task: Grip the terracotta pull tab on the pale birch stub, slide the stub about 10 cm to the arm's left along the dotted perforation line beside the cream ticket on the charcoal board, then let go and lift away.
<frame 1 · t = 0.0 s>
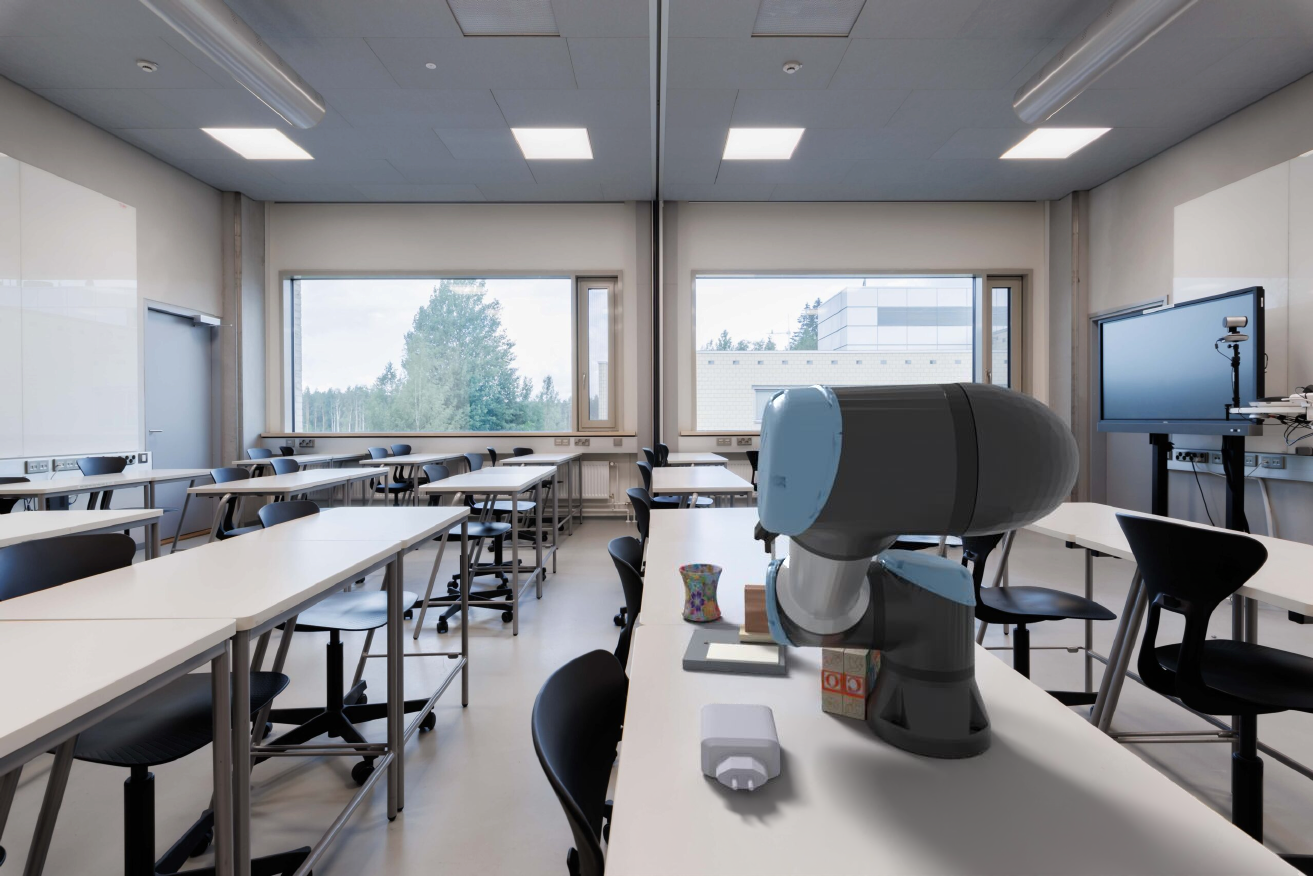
hand: (811, 563, 112), 15 cm above the table, tool tilted 35°, fingers open, 13 cm apart
charger: (740, 773, 73), on the table
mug: (700, 616, 132), on the table
stub: (758, 611, 113), point 6 cm above the table, slide at 0.0 cm
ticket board: (736, 653, 109), on the table
stack of blocks: (860, 689, 95), on the table
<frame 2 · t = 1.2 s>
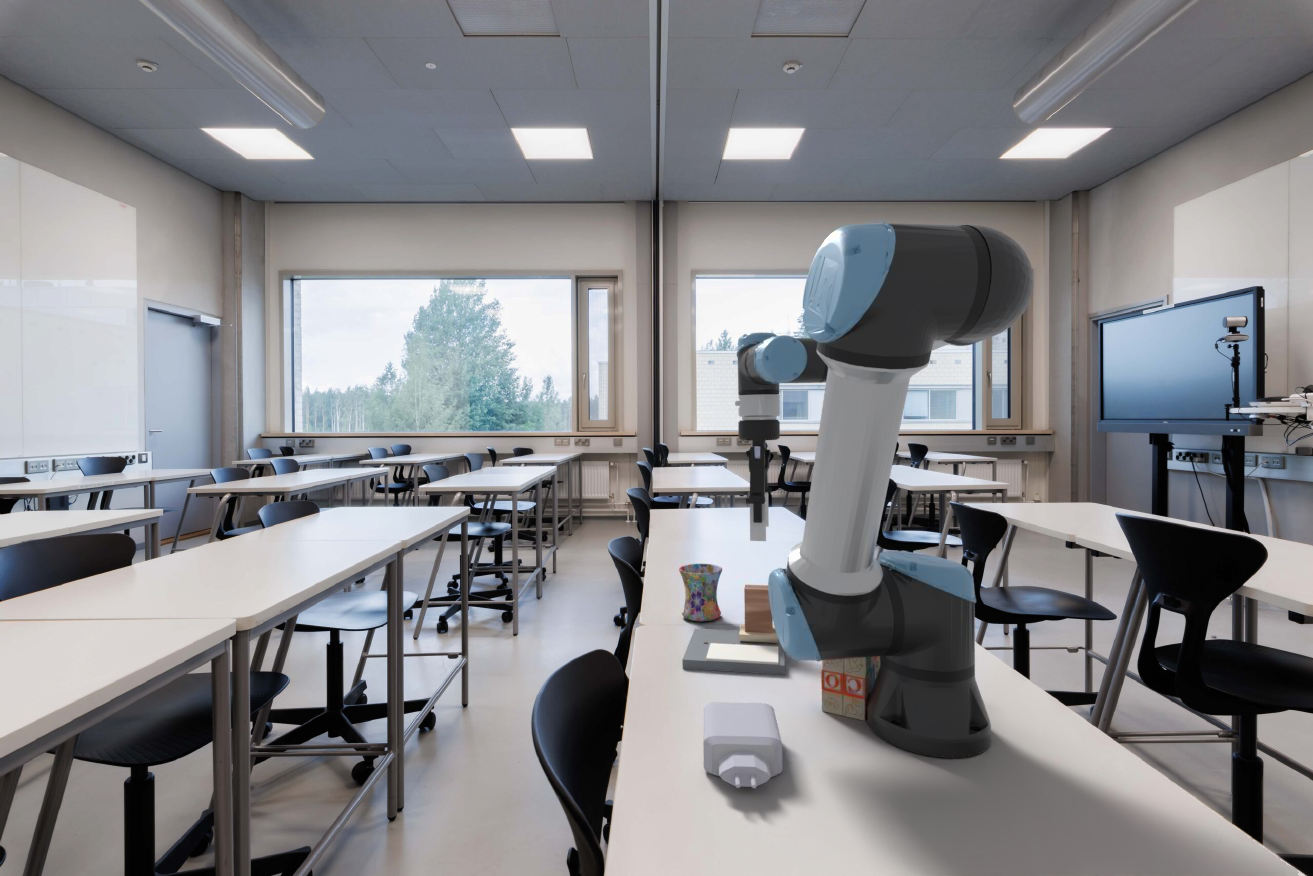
hand: (759, 533, 112), 21 cm above the table, tool pointing down, fingers open, 13 cm apart
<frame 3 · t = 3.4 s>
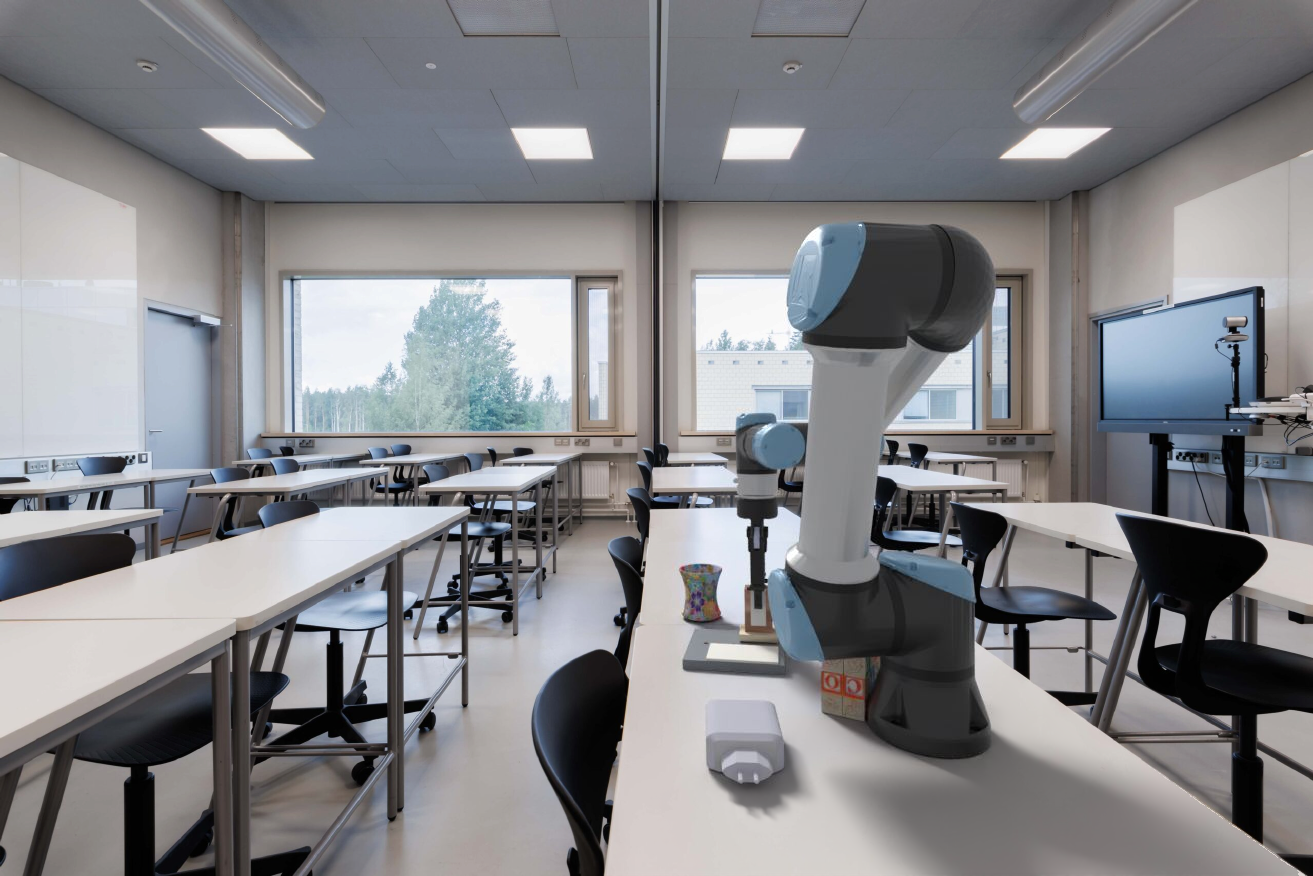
hand: (758, 621, 113), 5 cm above the table, tool pointing down, fingers closed on stub, 3 cm apart
stub: (758, 611, 113), point 6 cm above the table, slide at 0.0 cm, touching gripper
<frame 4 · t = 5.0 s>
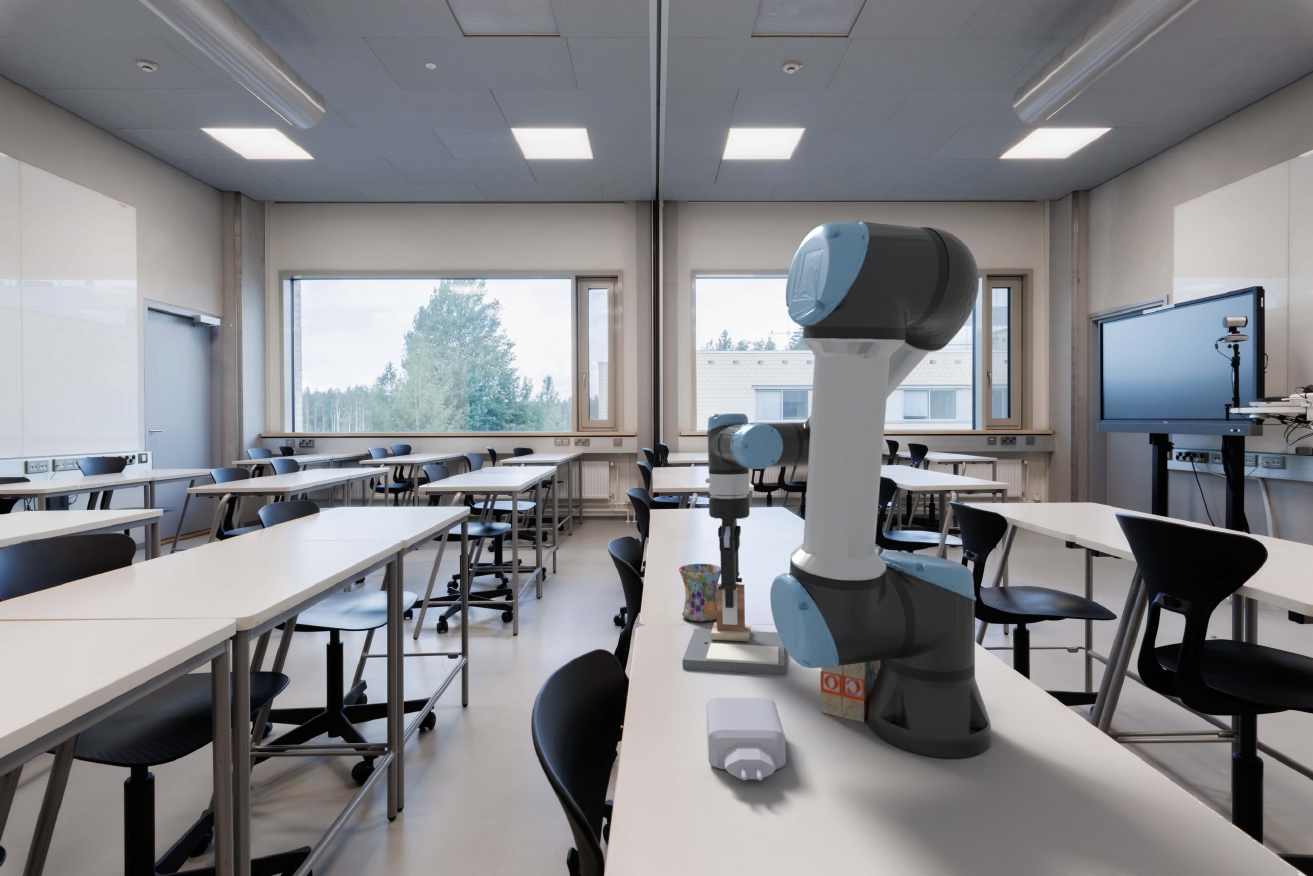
hand: (731, 620, 114), 5 cm above the table, tool pointing down, fingers closed on stub, 3 cm apart
stub: (730, 610, 114), point 6 cm above the table, slide at 5.2 cm, touching gripper
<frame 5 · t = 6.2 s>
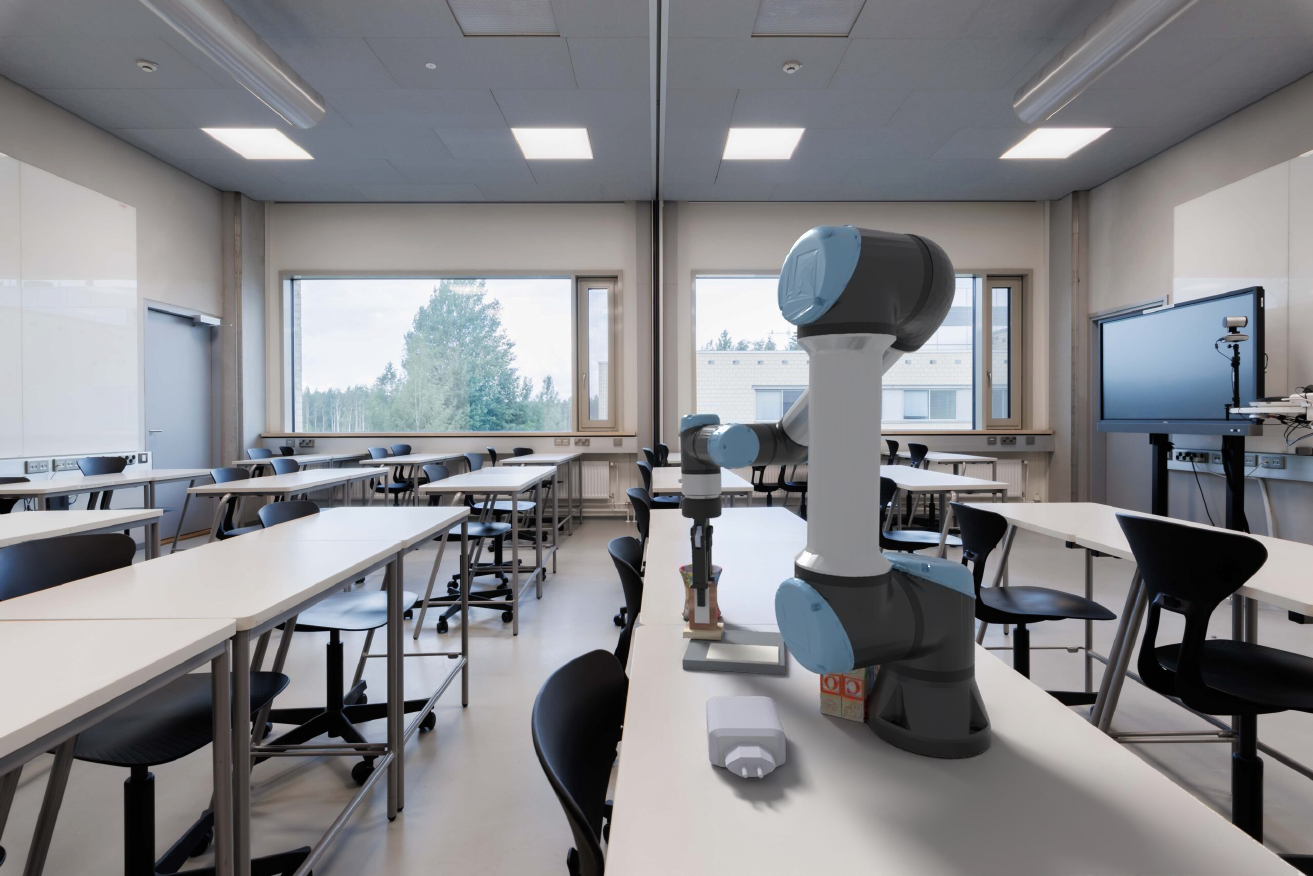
hand: (703, 619, 115), 5 cm above the table, tool pointing down, fingers closed on stub, 3 cm apart
stub: (703, 609, 115), point 6 cm above the table, slide at 10.4 cm, touching gripper
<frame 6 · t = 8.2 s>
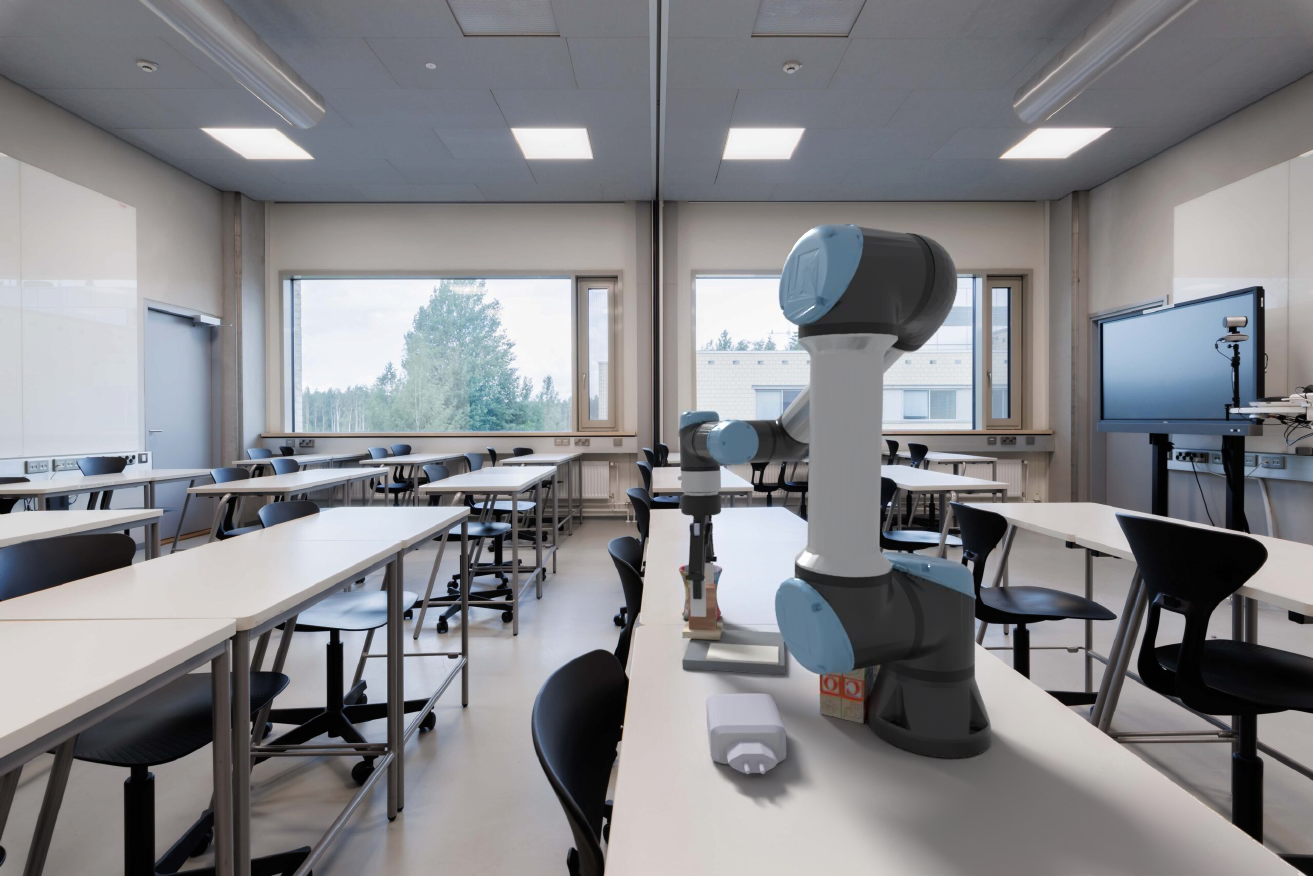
hand: (703, 605, 115), 7 cm above the table, tool pointing down, fingers open, 13 cm apart
stub: (702, 609, 115), point 6 cm above the table, slide at 10.5 cm
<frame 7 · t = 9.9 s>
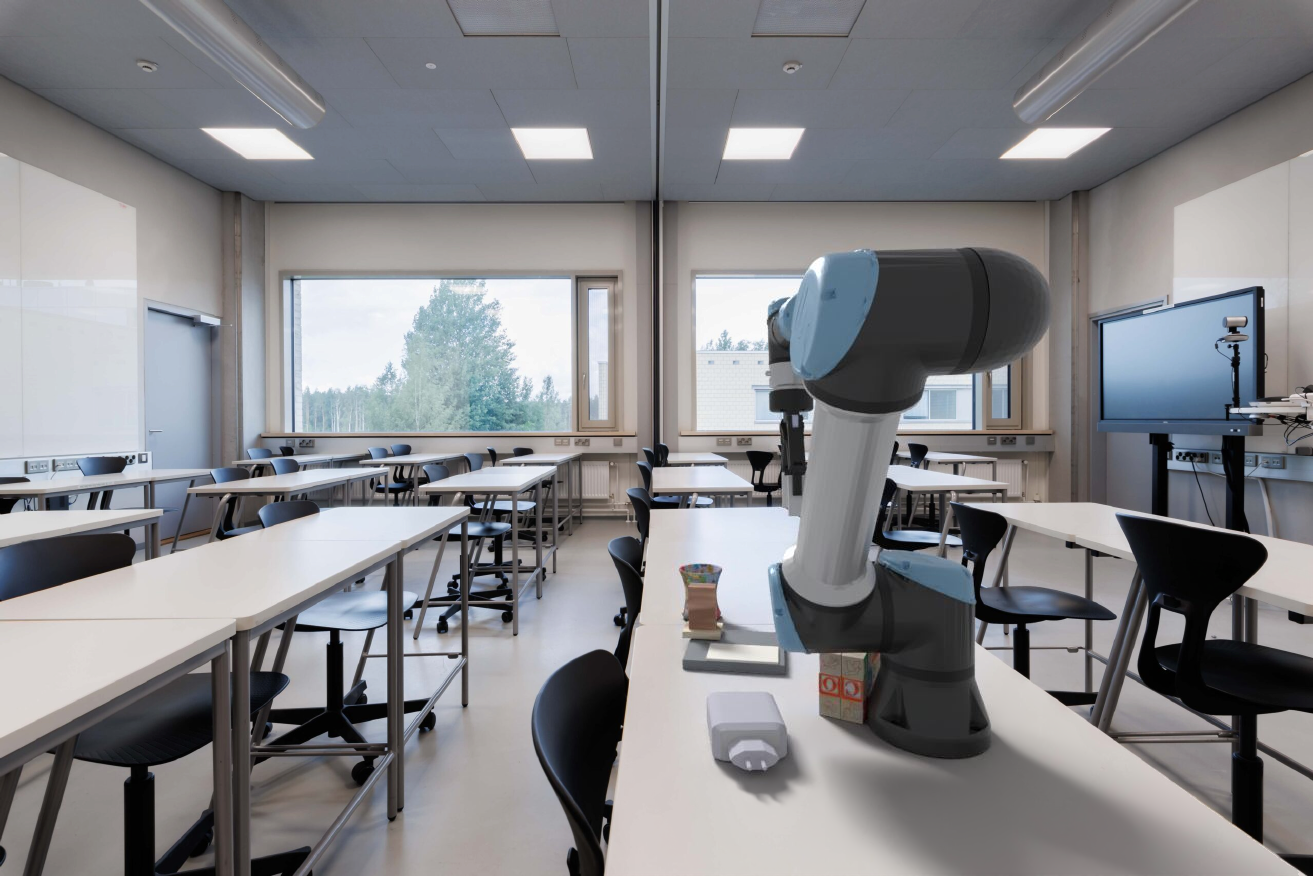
hand: (793, 511, 105), 26 cm above the table, tool pointing down, fingers open, 13 cm apart
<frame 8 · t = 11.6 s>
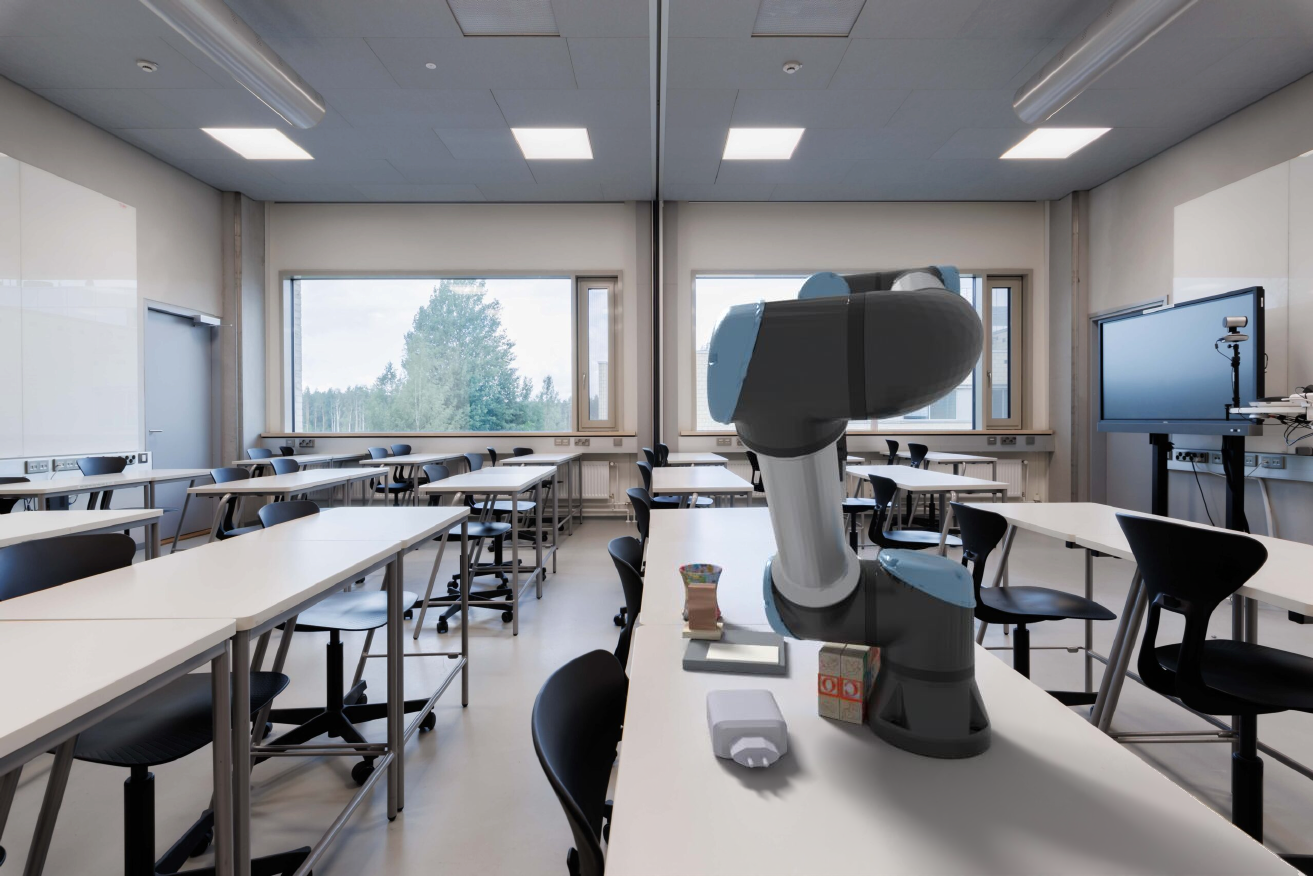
hand: (833, 497, 102), 29 cm above the table, tool pointing down, fingers open, 13 cm apart
at the end: stub slide at 10.5 cm; the gripper is holding nothing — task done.
